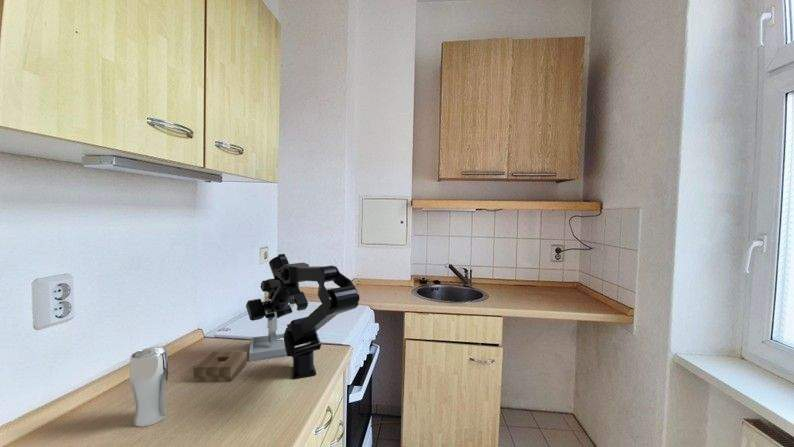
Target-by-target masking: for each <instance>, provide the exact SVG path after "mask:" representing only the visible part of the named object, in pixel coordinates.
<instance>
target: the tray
mask: <svg viewBox="0 0 794 447" xmlns="http://www.w3.org/2000/svg"><path fill="white" fill-rule="evenodd" d="M283 336H284V333H279V334H278V333H276V340H277V339H280V338H284V337H283ZM294 347H295V348H296V347H297V346H294ZM283 357H288V356H287V353H286V350H285V344H284V341H276V343H272V344H271V343H270V342H268V335H261V336H253V337H251V338H250V347H249V353H248V360H249V362H254V361H256V362H257V361H261V360H268V359H277V358H283Z"/></svg>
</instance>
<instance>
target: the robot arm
mask: <svg viewBox="0 0 794 447" xmlns="http://www.w3.org/2000/svg"><path fill="white" fill-rule="evenodd" d="M268 266H269V267H270V271H271V273H272V277H273V278H268V279H264V280H262V281H261V283H260V286H259V287H260V289H261V291H262V292H263V293H265V292H267V293H268V294H267V298H268V300H266V301H262V299H261V298H255V299H249V300H247V302H246V304H245V309H246V311H247V315H248V317H249V320H251V321H252V322H253V321H258V320H262V319H263V318H265V319H267V322H268V321H270V320H271V319H273V318H274V317H275V314H274V312H277V319H279V318H281V317H284V316H286V315H289V314H293V309H292V308H293V307H294V306H295V305H296V311H298V312H300V311H304V310H307V308H308V306H309V301H308V300H307V296H306V295H305V292H304V291H301V289H300V284H299V283H303V282H317V284H318V291H317V297H318V298H319V300H320V302H321V304H320V305H319V306H318V307H317V308H315V309H314V310H313V311H312V313H311V312H310V313H309V315H308V316H305V317H300V318H295V319H292V320H291V321H290V322H289V323H287V324H286V329H285V330H284V332H283V334H284V336H283V337H284V344H285V350H286V353H287V356H286V357H291V358H292V367H291V368H290V369H291V378H292V379H293V380H294V379H299V378H306V377H312V376H316V375H317V371H316V368H315V364H314V362H315V361H314V360H315V359H314V358H315V357H314V352H315V351H319V350H321V349H322V348H321V347H322V342H321V340H320V337H319V334H318V331H319V330H320V329H321V328H322V327H324V326H325V325H326V324H327V323H329V322H330V321H331V320H332V319H334V318H335V317H336V316H337V315H340V314H342V313H345V312H349V311H352V310H354V309H356V308H358V306H359V304H360V303H359V302H360V298H361V297H360V293H359V292H358V290H357V288H356V286H355V284H354V283H353V282H352V280H351V279H349V277H346V276H345V275H344V274H343V273H341V272H340V270H339V269H338V267H337V266H335V265H331V264H330V265H325V266H323V265H322V266H318V265H317V266H315V265H314V266H310V264H309V263H306V262H294V263H290V262H289V260H288V257H287V256H286V254H285V253H279V254H277V256H274V257H273V258H272V259H270V260H269V261H268ZM328 282H333V283H334V284H336V285H337V287H334V288H329V289H327V287H325V283H328ZM307 343H308V344H307ZM294 346H296V348H295V347H294Z"/></svg>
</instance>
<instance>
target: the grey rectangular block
mask: <svg viewBox="0 0 794 447" xmlns="http://www.w3.org/2000/svg"><path fill="white" fill-rule="evenodd" d="M274 314H275V317H274V318H273V319H271V320H270V321H268V320H267V326H266V327H267V330H268V335H267V336H268V342H270V343H271V344H272V343H276V334H277V331H278V318H277V312H274Z"/></svg>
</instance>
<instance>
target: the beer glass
mask: <svg viewBox="0 0 794 447" xmlns="http://www.w3.org/2000/svg"><path fill="white" fill-rule="evenodd" d="M129 357H130V361H129V362H130V363H129V383H130V388H131V389H130V390H131V392H132V397H133V400H134V405H135V412H134V417H133V425H134V426H135V427H140V428H141V427H142V428H145V427H149V426H152V425H155V424H157V423H159V422H161V421H163V420H164V419H165V418H166V417H167V415H168V408H167V405H166V391H167V385H168V380H169V379H168V378H169V372H170V371H169V365H170V364H169V355H168V348H167V347H165V346H152V347H151V346H150V347H147V348H143V349H140V350H137V351H134V352H133V353H132V354H130V356H129Z"/></svg>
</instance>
